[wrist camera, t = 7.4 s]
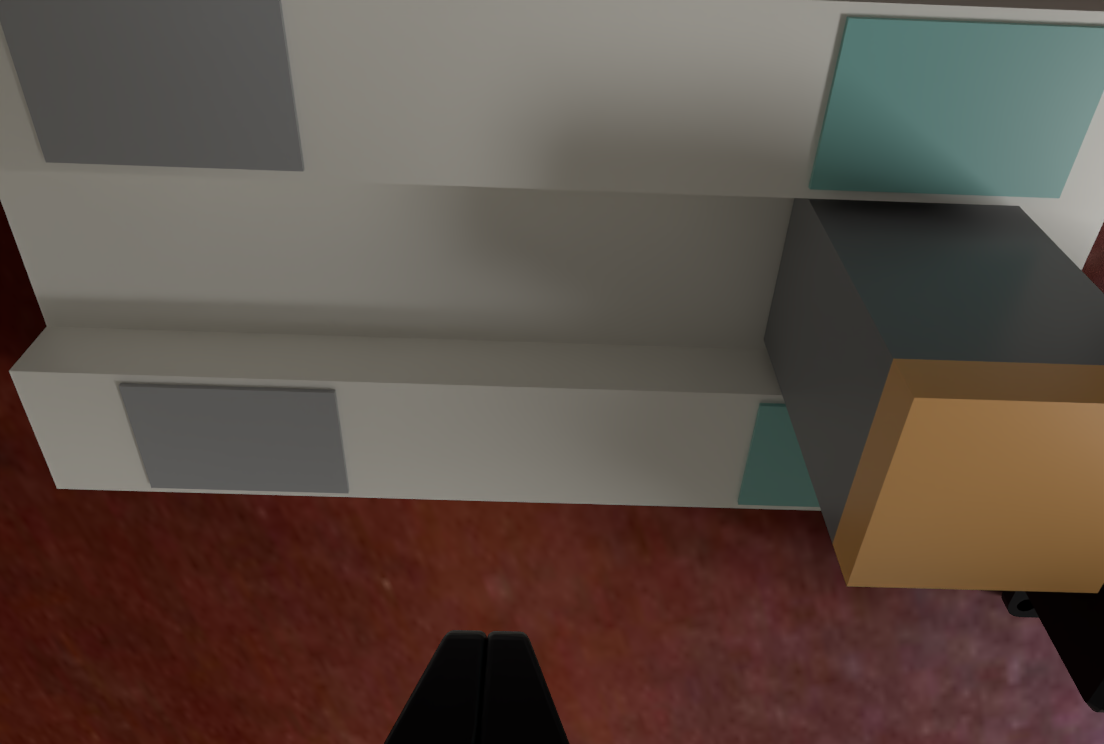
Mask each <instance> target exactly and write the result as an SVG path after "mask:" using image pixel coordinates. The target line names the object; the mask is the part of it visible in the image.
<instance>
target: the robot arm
mask: <svg viewBox="0 0 1104 744" xmlns="http://www.w3.org/2000/svg"><path fill="white" fill-rule="evenodd" d="M1001 598H1002V600H1003V602H1004V604H1005V606H1006V608H1007V610H1008V612H1009V613H1010V614H1011V615H1013V616H1017V617H1038V618H1040V620H1041V622H1042V624H1043V626H1044V627H1045V629H1046V631H1047V633H1048V635H1049V637H1050V639H1051V640H1052V642H1053V644H1054V646H1055V648H1056V650H1057V651H1058V653H1059V655H1060V657H1061V659H1062V661H1063V663H1064V664H1065V666H1066V668H1067V670H1068V672H1069V674H1070V675H1071V677H1072V679H1073V681H1074V683H1075V685H1076V687H1077V688H1078V690H1079V692H1080V694H1081V696H1082V698H1083V699H1084V701H1085V702H1086V703H1087V704H1088V706H1089V707H1090V708H1091V709H1092V710H1093V711H1095V712H1104V583H1103V585H1102V587H1101V588H1100V590H1099V592H1098V593H1075V592H1038V591H1003V593H1002V597H1001ZM384 744H569V741H568V739H567V736H566V734H565V731H564V728H563V726H562V723H561V721H560V718H559V715H558V713H557V710H556V707H555V705H554V702H553V700H552V697H551V694H550V692H549V689H548V687H547V684H546V681H545V679H544V676H543V673H542V671H541V668H540V666H539V663H538V660H537V658H536V655H535V653H534V650H533V647H532V645H531V642H530V640H529V638H528V636H527V635H526V634H525V633H523V632H511V631H493V632H491V633H490V634H489V635H488V637H487V636H486V634H485V633H484V632H482V631H464V630H453V631H450V632H448V633H447V634H446V635H445V636H444V638H443V639H442V641H441V643H440V644H439V646H438V648H437V650H436V652H435V653H434V655H433V657H432V659H431V661H430V662H429V664H428V666H427V668H426V669H425V671H424V673H423V675H422V677H421V678H420V680H419V682H418V684H417V685H416V687H415V689H414V691H413V693H412V694H411V696H410V698H409V700H408V701H407V703H406V705H405V707H404V709H403V710H402V712H401V714H400V716H399V717H398V719H397V721H396V723H395V725H394V726H393V728H392V730H391V732H390V734H389V735H388V737H387V739H386V741H385V742H384Z"/></svg>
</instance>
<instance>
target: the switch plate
mask: <svg viewBox="0 0 1104 744" xmlns="http://www.w3.org/2000/svg"><path fill="white" fill-rule="evenodd" d="M794 198H810V199H838V200H866V201H895V202H923V203H951V204H980V205H1008V206H1020V207H1021V209H1022V210H1023V211H1024V212H1025V213H1026V214H1027V215H1028V216H1029V217H1030V218H1031V219H1032V220H1033V221H1034V222H1035V223H1036V224H1037V225H1038V226H1039V227H1040V228H1041V229H1042V230H1043V231H1044V232H1045V233H1046V234H1047V235H1048V237H1049V238H1050V239H1051V240H1052V241H1053V242H1054V243H1055V244H1056V245H1057V246H1058V247H1059V248H1060V249H1061V250H1062V251H1063V252H1064V253H1065V254H1066V255H1067V256H1068V257H1069V258H1070V259H1071V260H1072V261H1073V262H1074V263H1075V265H1076V266H1077V267H1078V268H1079V269H1080V270H1082V268H1083V266H1084V264H1085V262H1086V259H1087V257H1088V255H1089V253H1090V251H1091V248H1092V246H1093V244H1094V242H1095V239H1096V237H1097V235H1098V233H1099V231H1100V228H1101V226H1102V224H1103V222H1104V0H0V200H1V203H2V206H3V208H4V211H5V214H6V216H7V219H8V222H9V225H10V227H11V230H12V233H13V236H14V238H15V241H16V244H17V246H18V249H19V252H20V255H21V257H22V260H23V263H24V266H25V268H26V271H27V274H28V276H29V279H30V282H31V285H32V287H33V290H34V293H35V296H36V298H37V301H38V304H39V306H40V309H41V312H42V315H43V317H44V320H45V323H46V326H47V327H46V328H45V329H44V330H43V331H42V333H41V334H40V335H39V336H38V337H37V339H36V340H35V341H34V342H33V343H32V344H31V346H30V347H29V348H28V349H27V350H26V351H25V353H24V354H23V355H22V356H21V357H20V359H19V360H18V361H17V362H16V363H15V364H14V366H13V367H12V368H11V369H10V370H9V373H10V375H11V378H12V380H13V382H14V385H15V387H16V390H17V392H18V395H19V397H20V399H21V402H22V404H23V407H24V409H25V411H26V414H27V416H28V419H29V421H30V424H31V426H32V428H33V431H34V433H35V436H36V438H37V441H38V443H39V445H40V448H41V450H42V453H43V455H44V458H45V460H46V462H47V465H48V467H49V470H50V472H51V474H52V477H53V479H54V482H55V484H56V487H57V489H88V490H123V491H157V492H192V493H227V494H261V495H296V496H331V497H366V498H400V499H435V500H470V501H504V502H539V503H574V504H608V505H643V506H678V507H713V508H747V509H782V510H817V511H821V509H820V506H819V503H818V500H817V497H816V494H815V491H814V488H813V485H812V482H811V479H810V476H809V473H808V470H807V467H806V464H805V461H804V458H803V455H802V452H801V449H800V446H799V443H798V440H797V437H796V434H795V431H794V429H793V426H792V423H791V420H790V417H789V414H788V411H787V408H786V405H785V402H784V399H783V396H782V393H781V390H780V387H779V384H778V381H777V378H776V375H775V372H774V369H773V366H772V363H771V360H770V357H769V354H768V351H767V349H766V346H765V343H764V335H765V331H766V326H767V322H768V317H769V312H770V308H771V303H772V299H773V294H774V289H775V285H776V280H777V276H778V271H779V266H780V262H781V257H782V253H783V248H784V243H785V239H786V234H787V230H788V225H789V220H790V216H791V211H792V207H793V202H794Z"/></svg>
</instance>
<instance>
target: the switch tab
mask: <svg viewBox="0 0 1104 744" xmlns="http://www.w3.org/2000/svg"><path fill="white" fill-rule="evenodd" d="M764 343H765V346H766V349H767V351H768V354H769V357H770V360H771V363H772V366H773V369H774V372H775V375H776V378H777V381H778V384H779V387H780V390H781V393H782V396H783V399H784V402H785V405H786V408H787V411H788V414H789V417H790V420H791V423H792V426H793V429H794V431H795V434H796V437H797V440H798V443H799V446H800V449H801V452H802V455H803V458H804V461H805V464H806V467H807V470H808V473H809V476H810V479H811V482H812V485H813V488H814V491H815V494H816V497H817V500H818V503H819V506H820V509H821V511H822V514H823V517H824V520H825V523H826V526H827V529H828V532H829V535H830V538H831V541H832V544H833V547H834V550H835V553H836V556H837V559H838V562H839V565H840V568H841V571H842V574H843V577H844V580H845V583H846V586H855V587H891V588H928V589H965V590H1001V591H1038V592H1075V593H1098V592H1099V590H1100V588H1101V587H1102V585H1103V583H1104V294H1103V293H1102V291H1101V290H1100V289H1099V288H1098V287H1097V286H1096V285H1095V284H1094V283H1093V282H1092V281H1091V280H1090V279H1089V278H1088V277H1087V276H1086V275H1085V274H1084V273H1083V272H1082V271H1081V270H1080V269H1079V268H1078V267H1077V266H1076V265H1075V263H1074V262H1073V261H1072V260H1071V259H1070V258H1069V257H1068V256H1067V255H1066V254H1065V253H1064V252H1063V251H1062V250H1061V249H1060V248H1059V247H1058V246H1057V245H1056V244H1055V243H1054V242H1053V241H1052V240H1051V239H1050V238H1049V237H1048V235H1047V234H1046V233H1045V232H1044V231H1043V230H1042V229H1041V228H1040V227H1039V226H1038V225H1037V224H1036V223H1035V222H1034V221H1033V220H1032V219H1031V218H1030V217H1029V216H1028V215H1027V214H1026V213H1025V212H1024V211H1023V210H1022V209H1021V207H1020V206H1008V205H980V204H951V203H923V202H895V201H866V200H838V199H810V198H794V202H793V207H792V211H791V216H790V220H789V225H788V230H787V234H786V239H785V243H784V248H783V253H782V257H781V262H780V266H779V271H778V276H777V280H776V285H775V289H774V294H773V299H772V303H771V308H770V312H769V317H768V322H767V326H766V331H765V335H764Z"/></svg>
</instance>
